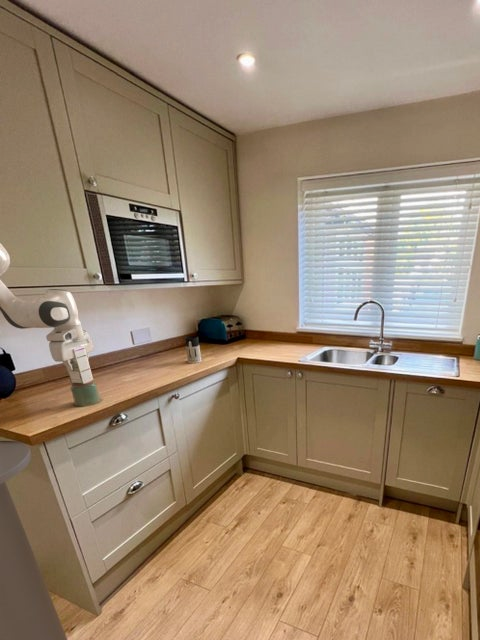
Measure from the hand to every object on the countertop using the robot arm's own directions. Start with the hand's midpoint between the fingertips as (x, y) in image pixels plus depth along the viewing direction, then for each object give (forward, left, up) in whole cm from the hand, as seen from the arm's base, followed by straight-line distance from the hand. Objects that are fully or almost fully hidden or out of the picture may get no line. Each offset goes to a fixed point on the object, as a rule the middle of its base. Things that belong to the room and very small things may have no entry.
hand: (78, 367), depth 133 cm
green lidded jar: (0, 0, -15) cm, 15 cm away
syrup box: (0, 0, -6) cm, 6 cm away
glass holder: (+67, -24, -15) cm, 73 cm away
